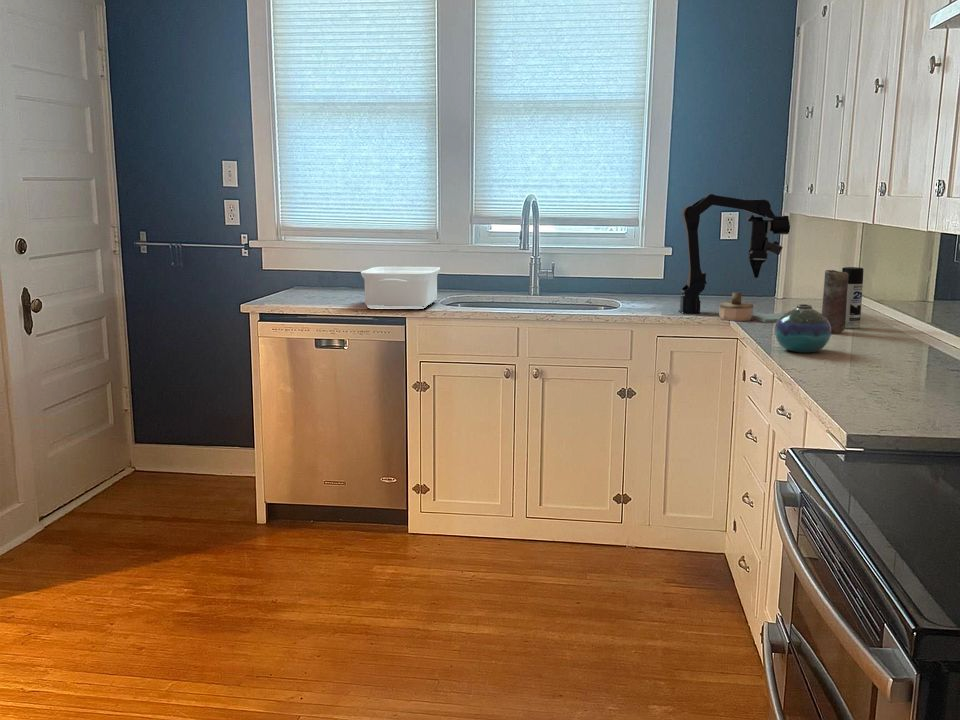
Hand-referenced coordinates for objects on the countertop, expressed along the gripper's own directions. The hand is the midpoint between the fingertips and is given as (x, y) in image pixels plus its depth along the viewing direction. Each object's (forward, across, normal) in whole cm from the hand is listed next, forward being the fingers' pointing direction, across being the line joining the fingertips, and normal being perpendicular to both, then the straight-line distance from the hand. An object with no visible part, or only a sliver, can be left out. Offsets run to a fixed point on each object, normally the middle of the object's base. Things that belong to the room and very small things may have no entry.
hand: (755, 276), depth 328 cm
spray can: (+13, -28, -30) cm, 43 cm away
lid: (+9, -16, +6) cm, 20 cm away
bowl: (+14, -16, +6) cm, 22 cm away
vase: (+14, -76, -12) cm, 78 cm away
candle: (+14, -40, -24) cm, 48 cm away
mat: (+14, -14, -7) cm, 21 cm away
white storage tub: (+17, -10, +135) cm, 137 cm away
